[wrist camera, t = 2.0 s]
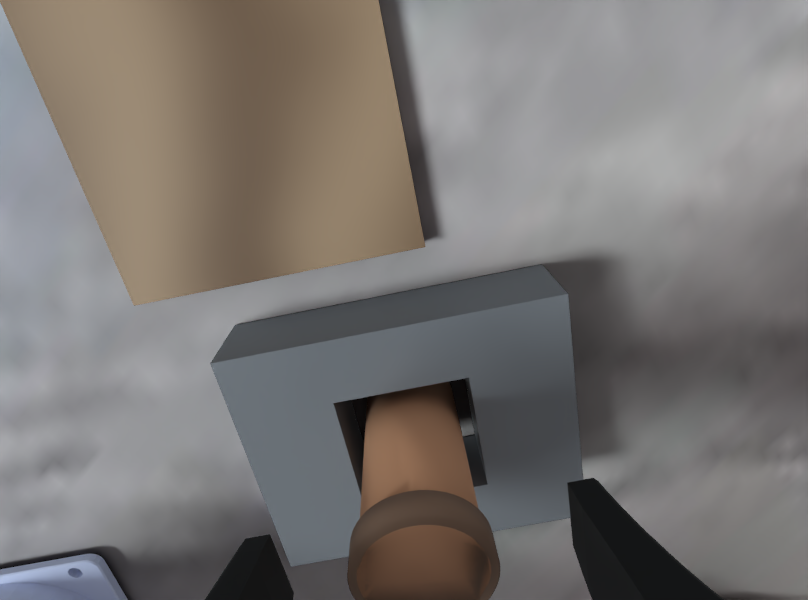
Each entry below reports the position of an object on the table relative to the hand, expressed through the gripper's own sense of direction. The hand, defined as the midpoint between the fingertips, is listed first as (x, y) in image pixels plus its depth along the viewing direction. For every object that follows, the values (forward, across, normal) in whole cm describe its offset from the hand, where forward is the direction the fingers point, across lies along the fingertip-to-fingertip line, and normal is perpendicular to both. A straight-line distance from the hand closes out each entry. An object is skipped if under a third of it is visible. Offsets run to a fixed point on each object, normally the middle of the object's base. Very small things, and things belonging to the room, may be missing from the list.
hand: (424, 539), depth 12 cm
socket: (+6, 0, 0) cm, 6 cm away
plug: (+6, 0, 0) cm, 6 cm away
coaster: (+6, +3, -10) cm, 12 cm away
